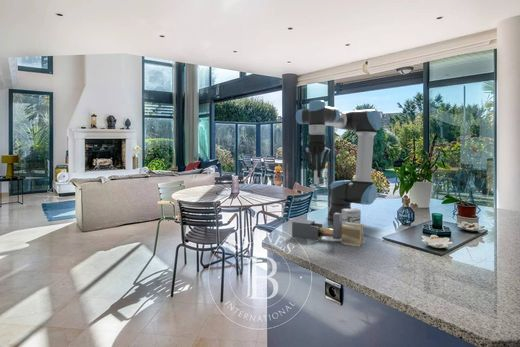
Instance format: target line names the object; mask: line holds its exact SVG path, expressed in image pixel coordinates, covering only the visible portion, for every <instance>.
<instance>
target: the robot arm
mask: <svg viewBox="0 0 520 347" xmlns="http://www.w3.org/2000/svg"><path fill="white" fill-rule="evenodd" d="M339 110H340V109H338V108H337V107H334V106H326V102H325V101H324V100H319V99H318V100H311V101H309V103H308V108H302V109H298V110H297V111H296V113H295V120H296V122H297V124H299V125H308V134H309V135H308V145H307V147H306V148H304V149H303V151H302V152H303V153H304V155H305V159H306V163H307V169H308V170H311V177H312V178H313V185H319V184H320V178H321V177H322V170H325V168H326V166H327V165H326V164H327V161H328V156H329V154H330V152H331V149H330V148H328V147H327V146H326V142H325V141H326V138H325V137H326V135H325V133H326V126H328V127H334V128H335V129H338V130H339V129H340V130H346V131H352V132H353V131H354V132H355V135H356V136H357V148H356V163H355V177H354V178H353V179H352V180H349V179H345V180H335V181H332V182H331V184H330V186H331V187H330V207H329V210H328V214H327V219H328V220H331V221H333V214H335V213H342V209H352V206H351V205H352V204H357V205H358V204H359V205H365V206H367V205H368V206H369V205H372V204H373V203H374V202H375V201H376V198H377V195H378V188H377V185H375V184H374V180H373V179H372V171H373V170H372V168H373V153H374V139H375V138H374V137H375V136H376V135H377V133H378V131H379V130H380V129H381V128H382V125H383V124H382V121H383V120H382V116H381V114H380V112H379V111H378V110H377V109H372V108H371V109H359V110H350V111H339ZM310 153H311V154H310ZM322 153H323V158H322Z"/></svg>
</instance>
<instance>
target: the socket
mask: <svg viewBox="0 0 520 347" xmlns="http://www.w3.org/2000/svg"><path fill="white" fill-rule="evenodd" d="M364 225H365V224H364V223H360V224H359V223H350V222H346V223H345V224H343V225H342V239H341V245H343V244H344V245H345V246H351V247H352V246H353V247H359V248H360V247H361V246H362V245H363V243H364V236H365V235H364V231H365V230H364V227H365V226H364Z"/></svg>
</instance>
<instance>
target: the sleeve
mask: <svg viewBox="0 0 520 347" xmlns="http://www.w3.org/2000/svg"><path fill="white" fill-rule="evenodd" d="M318 227H322V228H323V223H318V222H316V221H315V220H311V219H310V220H309V219H301V218H300V219H299V218H297V219H295V220H293V221H292V222H291V237H292V238H295V239H296V238H297V239H304V240H310V241H311V240H312V241H317V240H318V241H319V240H320V239H322V238H323V236H318ZM321 237H322V238H321Z"/></svg>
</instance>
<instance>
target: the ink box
mask: <svg viewBox="0 0 520 347" xmlns="http://www.w3.org/2000/svg"><path fill="white" fill-rule="evenodd" d="M361 215H362V210H361V209H359V208H351V209H342V225H343V224H345V223H346V222H350V223H359V224H361V218H362V217H361Z"/></svg>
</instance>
